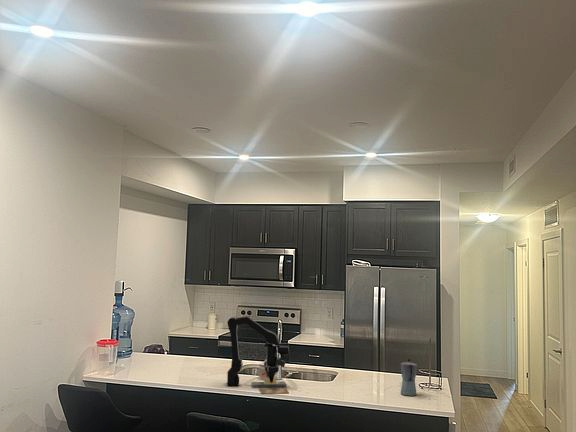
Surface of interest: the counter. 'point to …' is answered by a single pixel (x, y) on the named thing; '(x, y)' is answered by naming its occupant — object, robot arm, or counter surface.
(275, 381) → the lever cap
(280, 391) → the walnut board
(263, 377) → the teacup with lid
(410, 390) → the moka pot
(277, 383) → the plane body
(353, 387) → the counter surface
